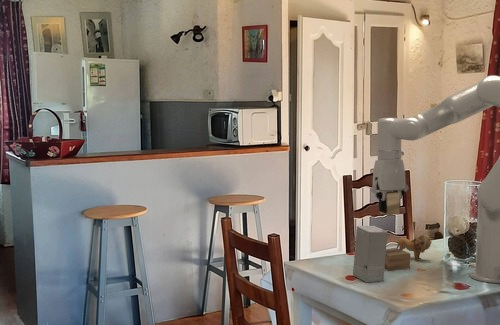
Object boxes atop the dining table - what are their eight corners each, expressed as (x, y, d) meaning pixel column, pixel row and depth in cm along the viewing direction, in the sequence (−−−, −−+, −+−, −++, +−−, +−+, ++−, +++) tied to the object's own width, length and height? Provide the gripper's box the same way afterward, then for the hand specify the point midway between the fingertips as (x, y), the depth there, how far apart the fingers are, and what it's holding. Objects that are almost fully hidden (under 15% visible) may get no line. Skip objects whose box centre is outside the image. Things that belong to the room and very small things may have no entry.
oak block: (399, 214, 195) (399, 192, 194) (387, 215, 193) (387, 193, 193) (391, 212, 199) (391, 191, 199) (379, 213, 198) (379, 192, 197)
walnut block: (409, 268, 196) (410, 253, 195) (389, 270, 193) (389, 255, 193) (395, 262, 203) (395, 247, 203) (375, 264, 200) (375, 249, 200)
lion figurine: (433, 260, 206) (434, 234, 205) (426, 263, 202) (427, 237, 201) (395, 253, 216) (395, 228, 215) (387, 256, 212) (388, 231, 211)
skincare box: (352, 275, 187) (353, 225, 186) (372, 273, 190) (373, 224, 188) (366, 283, 179) (367, 231, 178) (387, 281, 182) (388, 229, 180)
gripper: (404, 153, 201) (404, 207, 203) (360, 156, 195) (361, 212, 197) (418, 155, 194) (418, 211, 196) (373, 157, 188) (374, 215, 190)
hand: (389, 211), depth 196 cm, fingers closed on oak block, 4 cm apart
